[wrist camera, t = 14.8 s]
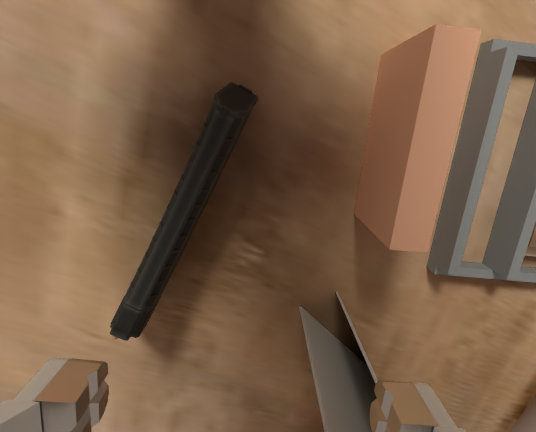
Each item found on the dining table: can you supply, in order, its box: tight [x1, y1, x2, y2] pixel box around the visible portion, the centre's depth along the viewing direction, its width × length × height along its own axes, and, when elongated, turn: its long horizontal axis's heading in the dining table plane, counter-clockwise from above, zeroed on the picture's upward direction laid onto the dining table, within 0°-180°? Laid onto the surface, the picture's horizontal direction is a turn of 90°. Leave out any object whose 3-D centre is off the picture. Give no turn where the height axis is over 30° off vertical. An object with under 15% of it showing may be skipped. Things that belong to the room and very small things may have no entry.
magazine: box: [110, 82, 259, 340], centre depth 36 cm, size 17×3×30 cm
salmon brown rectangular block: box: [354, 24, 482, 253], centre depth 33 cm, size 18×4×12 cm, turn 174°
